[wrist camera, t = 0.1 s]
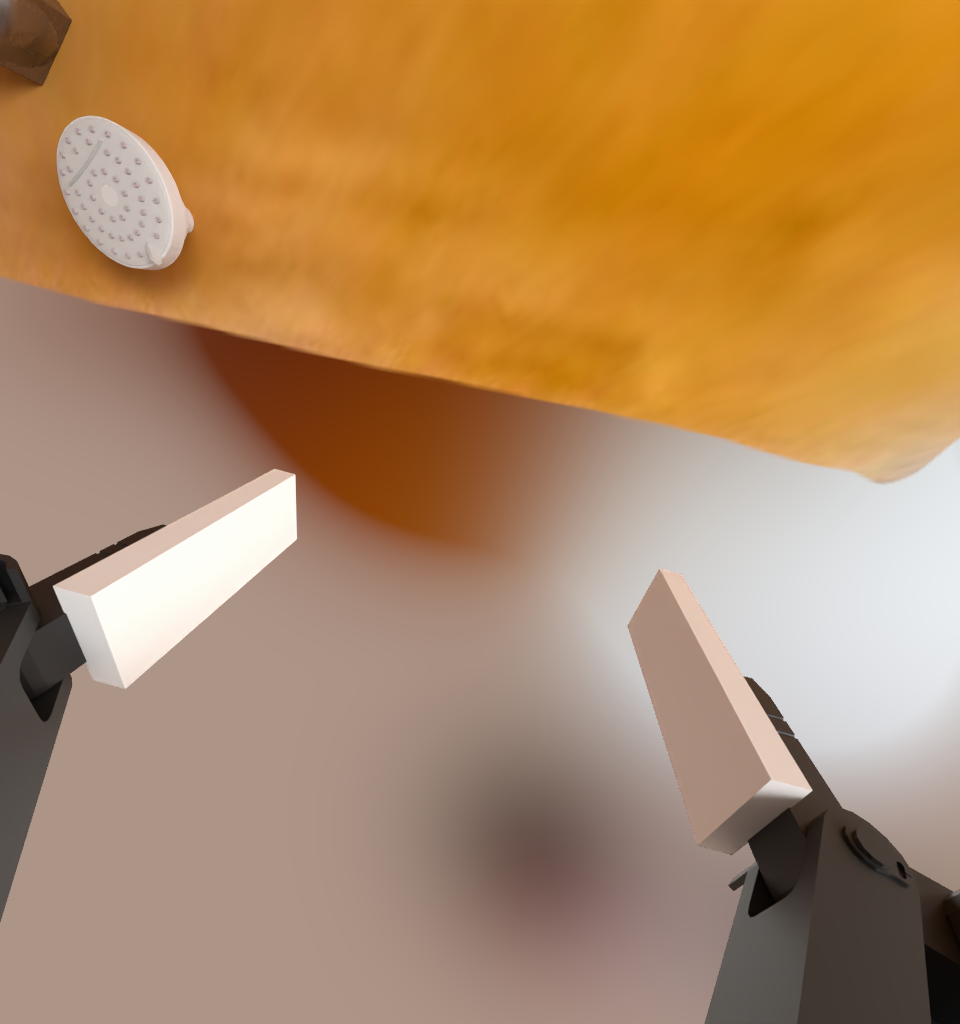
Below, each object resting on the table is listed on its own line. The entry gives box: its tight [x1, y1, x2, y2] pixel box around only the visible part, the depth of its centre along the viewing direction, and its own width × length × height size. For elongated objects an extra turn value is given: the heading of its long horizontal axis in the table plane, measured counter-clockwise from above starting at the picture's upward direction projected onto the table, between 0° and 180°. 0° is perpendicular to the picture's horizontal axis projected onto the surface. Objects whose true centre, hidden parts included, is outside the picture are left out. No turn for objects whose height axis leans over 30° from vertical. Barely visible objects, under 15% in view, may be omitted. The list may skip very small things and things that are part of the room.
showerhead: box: [57, 116, 194, 270], centre depth 31 cm, size 9×7×10 cm
